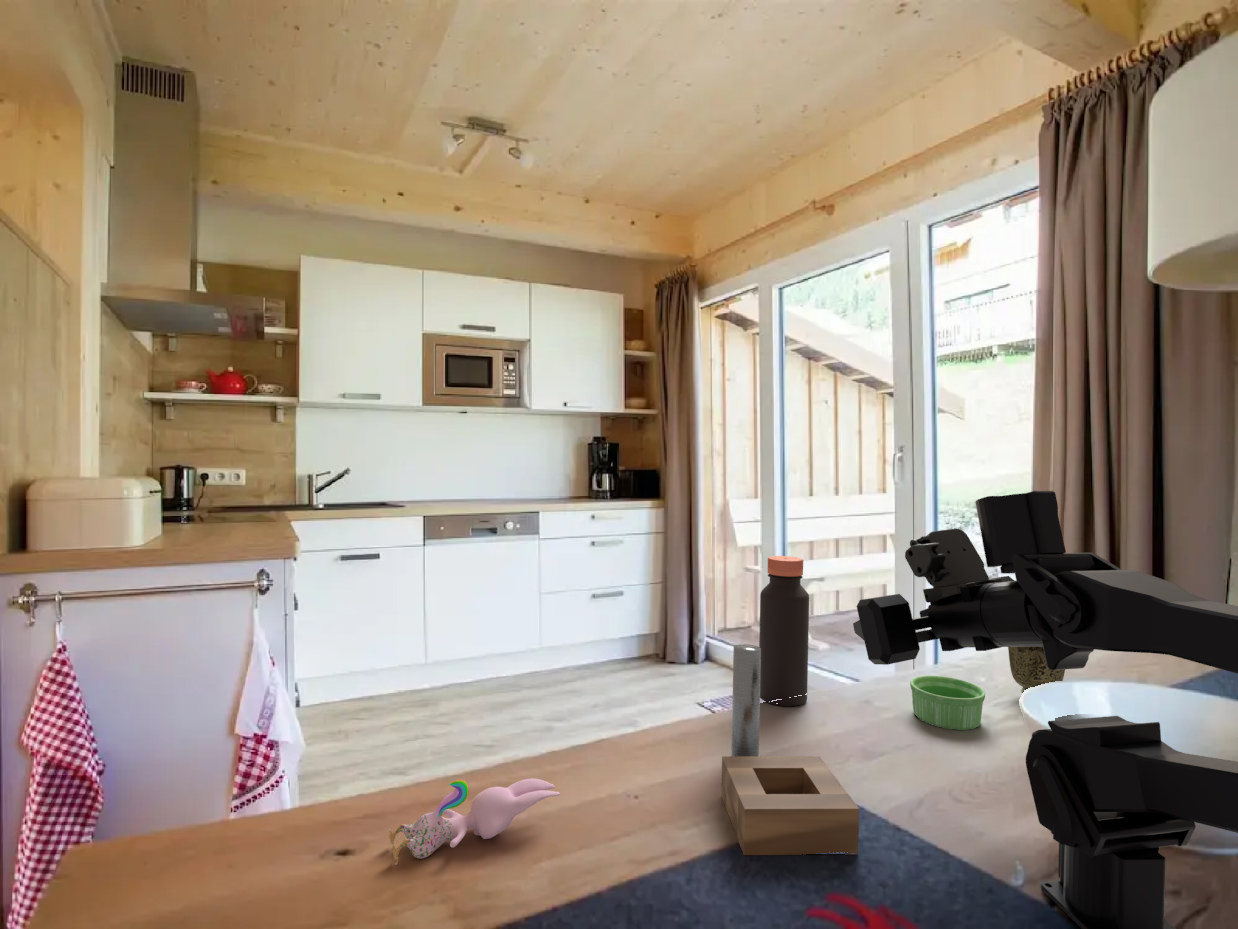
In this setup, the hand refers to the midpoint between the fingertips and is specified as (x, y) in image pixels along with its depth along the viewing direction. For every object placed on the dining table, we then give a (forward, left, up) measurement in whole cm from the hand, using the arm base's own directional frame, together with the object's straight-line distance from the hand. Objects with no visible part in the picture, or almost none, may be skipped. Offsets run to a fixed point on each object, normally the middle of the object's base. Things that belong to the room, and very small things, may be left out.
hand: (888, 621), depth 75 cm
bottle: (+20, +6, -16) cm, 27 cm away
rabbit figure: (-14, +43, -16) cm, 48 cm away
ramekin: (+13, -14, -16) cm, 25 cm away
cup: (+20, -31, -16) cm, 41 cm away
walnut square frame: (-12, +15, -16) cm, 25 cm away
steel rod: (0, +16, -16) cm, 23 cm away
